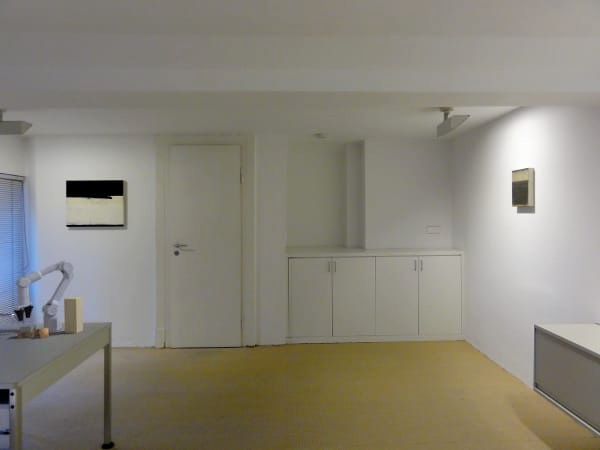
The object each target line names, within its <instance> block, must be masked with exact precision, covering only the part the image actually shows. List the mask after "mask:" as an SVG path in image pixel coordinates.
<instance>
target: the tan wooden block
mask: <svg viewBox="0 0 600 450" xmlns="http://www.w3.org/2000/svg"><path fill="white" fill-rule="evenodd" d="M63 307H64V308H63V309H64V311H63V312H64V333H65V334H78V333H80V332H83V331H84V315H83V313H84V312H83V310H84V309H83V297H82V296H69V297H66V298H64V300H63Z"/></svg>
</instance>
